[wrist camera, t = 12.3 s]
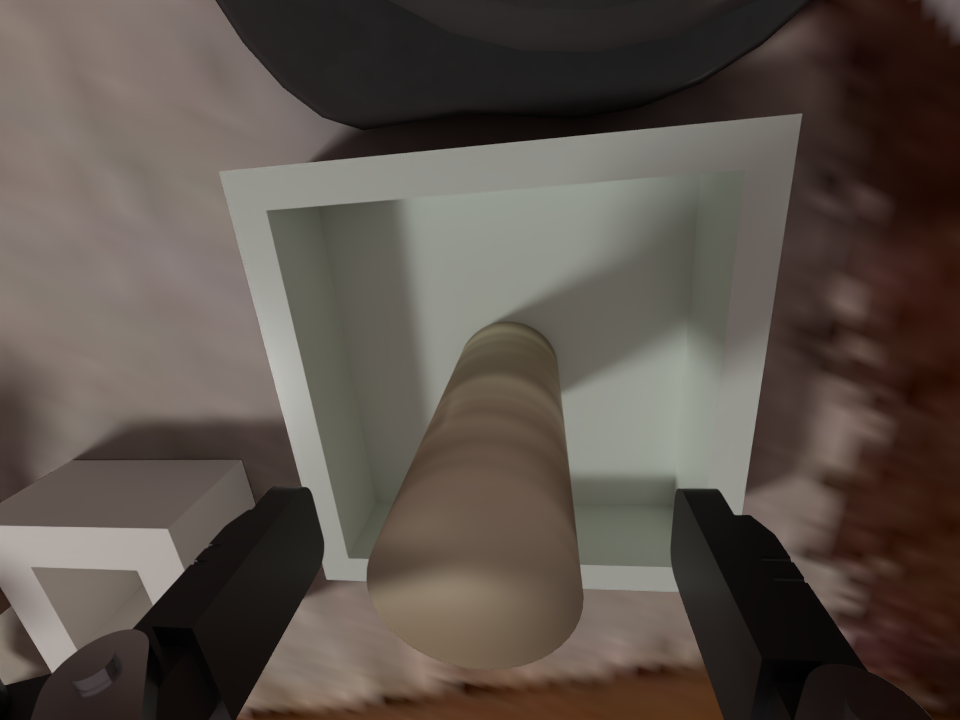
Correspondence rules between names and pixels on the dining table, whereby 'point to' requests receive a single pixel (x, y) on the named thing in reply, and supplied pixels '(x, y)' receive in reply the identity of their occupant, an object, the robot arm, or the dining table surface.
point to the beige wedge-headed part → (3, 602)
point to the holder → (109, 542)
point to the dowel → (486, 515)
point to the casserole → (496, 53)
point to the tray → (527, 314)
